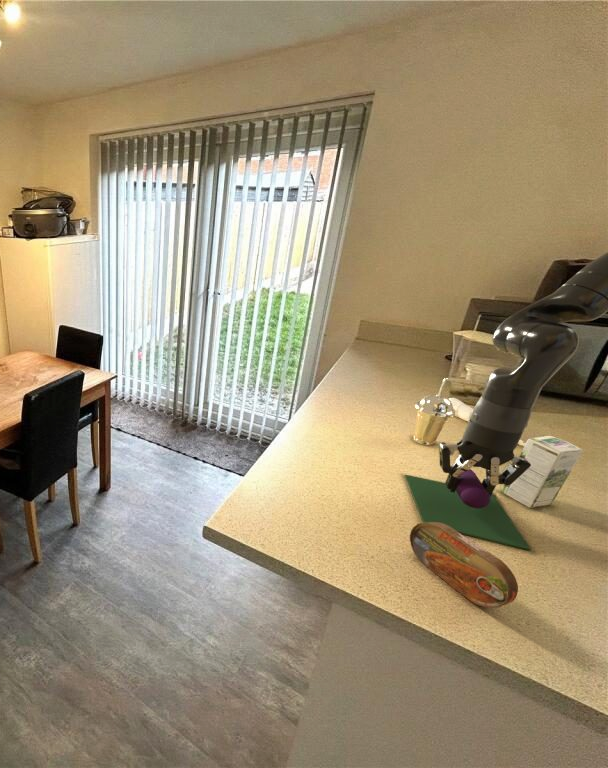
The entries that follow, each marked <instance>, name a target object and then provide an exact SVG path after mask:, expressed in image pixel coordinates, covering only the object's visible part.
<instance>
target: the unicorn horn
mask: <svg viewBox="0 0 608 768" xmlns="http://www.w3.org/2000/svg"><path fill="white" fill-rule="evenodd" d="M448 399H449V400H450V401H451V403H452V405H453V409H454V410H455V416H454V417H457V418H459V419H461V420H463V421H466V422H467V423H468V422H469V420H470V417H471V415H472V413H473V410H474V408H472V407H471V406H469V405H468V404H465V403H464V402H463V401H461V400H460V399H458V398H456V397H450V398H448ZM525 444H526V442H524V441H523V440H522V439H520V440H519V442H518V444H517V445H519V446H521V447H524V446H525Z"/></svg>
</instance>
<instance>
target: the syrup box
mask: <svg viewBox="0 0 608 768" xmlns="http://www.w3.org/2000/svg"><path fill="white" fill-rule="evenodd" d="M525 443H526V444H525V446H523V448H522V450H521V452H520V454H519V456H523V457H525V458H526V459H527V461H528V462H529V463H530V464H531V466H530V467H529V468H528V469H527V470H526V471H525V472H524V473H523V474H522V475H521V476H520V477H518V478H517V479H516V480H515V481H514V482H513V483H512V484H511V485H505V484H503V486H502V489H501V493H502V494H504V495H506V496H508V497H509V498H511V499H513V500H515V501H517V502H518V503H520V504H522V505H524V506H526V507H528V508H529V509H534V508H539V507H545V506H546V507H547V506H551V505H552V504H553V502H554V501H555V499H556V497H557V496H558V494H559V492H560V491H561V489H562V488H563V486H564V484H565V483H566V480H567V479H568V477H569V476H570V474H571V472H572V471H573V469H574V467H575V465H576V464H577V462H578V460H579V458H580V457H581V455H582V453H583V452H584V450H583V449H582V448H580V447H579V446H576V445H575V444H573V443H571V442H568V441H566V440H564V439H562V438H558V437H555V436H553V435H545V436H538V437H537V436H536V437H530V438H528V439H527V440H526V442H525Z"/></svg>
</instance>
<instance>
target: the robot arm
mask: <svg viewBox="0 0 608 768" xmlns="http://www.w3.org/2000/svg"><path fill="white" fill-rule="evenodd" d="M607 312H608V251H607V252H605V253H603V254H602V255H600V256H599V257H597V258H595V259H594V260H593V261H591V262H590V263H588V264H586V265H585V266H584V267H583V268H582V269H580V270H579V271H578V272H576V273H575V274H574V275H573V276H572V277H570V279H568V280H567V281H566V282H565V283H564V284H562V285H561V286H560V287H559V288H557V289H556V291H554V292H552V293H551V294H549V295H547V296H544V297H543V298H540V299H539V300H537V301H535V302H533V303H531V304H530V305H528V306H526V307H524V308H523V309H520V310H519V311H517V312H515V313H514V314H512V315H510V316H509V317H507V318H505V320H504V321H502V322H501V323H500V324H499V325H498V327H497V328H496V329H495V331H494V333H493V335H492V344H493V347H494V349H496V350H497V351H499V352H501V353H503V354H507V355H510V356H513V357H517V358H519V359H522V360H523V362H522V363H521V364H520V366H518V367H508V366H507V367H505V366H503V367H497V368H495V369H494V370H493V371H492V372H491V373H490V375H489V376H488V378H487V381H486V383H485V385H484V388H483V390H482V393H481V395H480V397H479V399H478V401H476V404H475V406H474V407H473V409H474V410H473V413H472V415H471V417H470V420H469V422H467V424H466V428H465V430H464V432H463V435H462V438H461V440H459V441H457V443H453V444H451V443H450V444H449V443H448V444H447V443H446V442H443V441H441V442H439V443H438V453H439V454H438V455H439V456H438V458H439V466H440V469H442V471H443V473H444V474H447V477H446V480H445V482H444V483H445V484H446V486H447V488H448V489H449V491H450V492H455V490H456V488H457V486H458V483H459V481H460V476H461V475H462V474H463V473H464V472H465V471H468V470H469V469H472V467H473V468H481V469H484V470H485V477H486V478H483V479H482V482H481V483H482V485H483V486H484V488H485V489H486V491H487V492H488V494H489V496H491V495H492V493H493V494H494V491H495V489H496V487H497V486H498V485H511V484H512V483H513V482H514V481H515V480H516V479H517V478H518V477H520V476H521V475H522V474H523V473H524V472H525V471H526V470H527V469H528V468H529V467H530V466H531V464H530V463H529V462H528V461H527V459H526V458H525V457H523V456H520V455H516V454H515V453H514V451H515V450H516V448H517V446H518V445H519V444H518V442H519V440H521V438H522V436H523V434H524V432H525V429H526V428H527V427H528V425H529V421H530V418H531V415H532V411H533V409H534V406H535V404H536V402H537V399H538V397H539V396H540V394H541V391H542V389H543V387H545V385H546V384H547V383H548V382H550V380H551V379H552V378H553V377H554V376H555V374H557V372H559V370H561V368H562V367H563V366H565V364H567V362H568V361H569V360H571V358H572V357H573V356H574V355H575V354H576V352H577V350H578V348H579V343H580V338H579V334H578V332H577V330H576V329H574V328H573V327H571V326H569V325H566V324H564V323H569V322H570V323H572V322H573V323H574V322H576V323H577V322H578V323H579V322H580V323H581V322H583V323H584V322H591V321H594V320H597V319H599V318H601V317H602V316H604V315H605V314H606V313H607ZM456 451H458V453H459V455H458V457H456V459H455V462H453V464H452V465H451V456H452V457H453V456H454V454H455V452H456ZM506 463H509V465H507V466H506V468H504V470H502V471H500V466H503V465H505V464H506Z"/></svg>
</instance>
